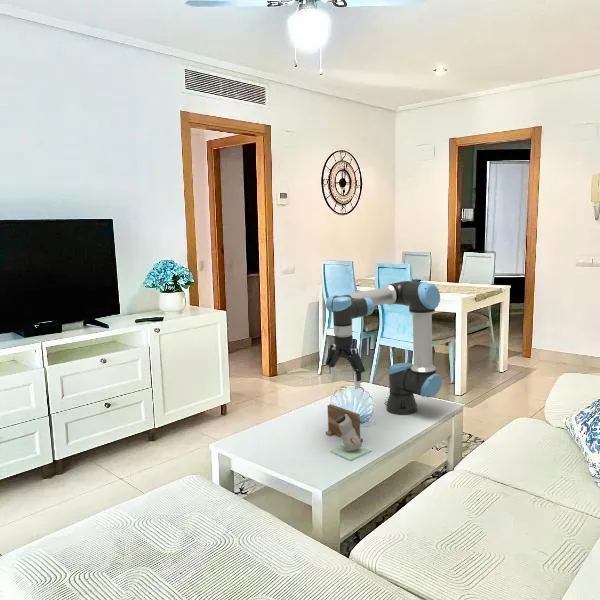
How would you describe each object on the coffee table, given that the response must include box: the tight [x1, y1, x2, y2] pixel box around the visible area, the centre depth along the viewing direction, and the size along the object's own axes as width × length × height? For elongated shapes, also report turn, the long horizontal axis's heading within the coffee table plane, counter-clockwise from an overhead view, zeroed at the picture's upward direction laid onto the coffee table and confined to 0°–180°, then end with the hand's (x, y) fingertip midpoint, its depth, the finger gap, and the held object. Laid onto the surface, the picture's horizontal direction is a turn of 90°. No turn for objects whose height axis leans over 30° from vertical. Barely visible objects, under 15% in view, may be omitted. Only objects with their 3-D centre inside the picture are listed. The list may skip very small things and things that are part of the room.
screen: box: [325, 403, 364, 443], centre depth 236 cm, size 6×18×13 cm, turn 40°
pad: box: [329, 444, 372, 462], centre depth 223 cm, size 12×12×1 cm
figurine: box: [336, 414, 362, 451], centre depth 222 cm, size 9×10×15 cm
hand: (345, 385), depth 223 cm, fingers open, 13 cm apart
